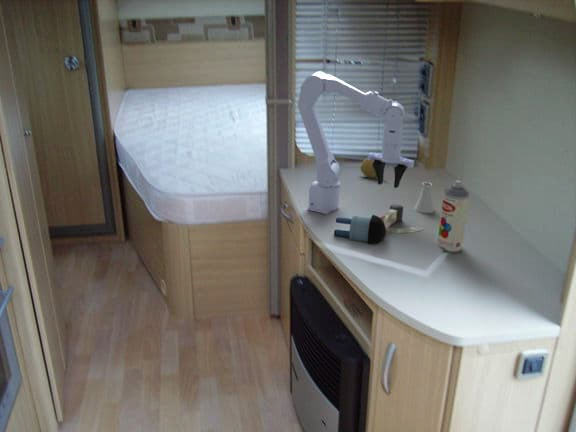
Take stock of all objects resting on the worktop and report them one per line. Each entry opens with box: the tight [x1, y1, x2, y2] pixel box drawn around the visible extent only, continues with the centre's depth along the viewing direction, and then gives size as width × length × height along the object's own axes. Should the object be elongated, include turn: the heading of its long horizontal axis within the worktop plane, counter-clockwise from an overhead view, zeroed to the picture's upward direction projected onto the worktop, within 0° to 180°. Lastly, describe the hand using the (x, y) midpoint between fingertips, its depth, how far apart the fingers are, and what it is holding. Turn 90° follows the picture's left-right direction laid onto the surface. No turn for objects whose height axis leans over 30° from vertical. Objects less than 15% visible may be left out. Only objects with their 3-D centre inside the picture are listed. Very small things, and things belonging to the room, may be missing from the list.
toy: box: [333, 214, 387, 245], centre depth 171 cm, size 8×9×15 cm
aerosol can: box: [437, 179, 470, 255], centre depth 165 cm, size 7×7×20 cm
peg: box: [379, 204, 404, 228], centre depth 180 cm, size 14×4×5 cm, turn 147°
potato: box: [360, 157, 377, 179], centre depth 225 cm, size 7×8×8 cm
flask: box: [413, 181, 435, 214], centre depth 192 cm, size 7×7×10 cm
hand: (388, 185), depth 187 cm, fingers open, 5 cm apart
